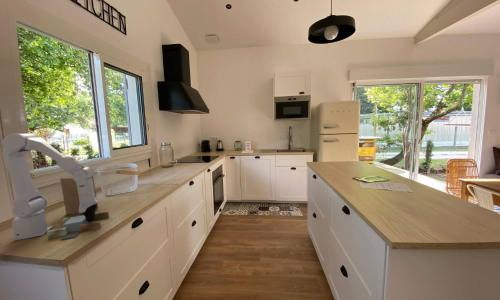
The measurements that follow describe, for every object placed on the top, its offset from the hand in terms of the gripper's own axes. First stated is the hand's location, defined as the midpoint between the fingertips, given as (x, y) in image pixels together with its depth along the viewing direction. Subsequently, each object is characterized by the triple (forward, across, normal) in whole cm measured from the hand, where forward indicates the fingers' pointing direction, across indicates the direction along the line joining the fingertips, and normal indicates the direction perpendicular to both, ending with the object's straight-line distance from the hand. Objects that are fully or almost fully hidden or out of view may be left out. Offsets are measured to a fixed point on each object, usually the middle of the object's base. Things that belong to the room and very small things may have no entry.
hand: (91, 221), depth 93 cm
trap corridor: (+2, 0, +4) cm, 4 cm away
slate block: (+2, 0, +5) cm, 5 cm away
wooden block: (+2, +24, +12) cm, 27 cm away
